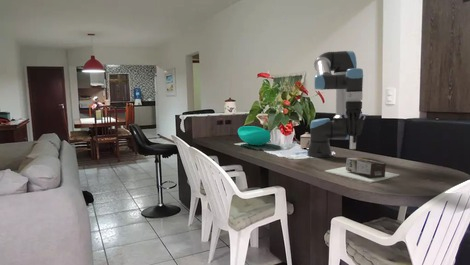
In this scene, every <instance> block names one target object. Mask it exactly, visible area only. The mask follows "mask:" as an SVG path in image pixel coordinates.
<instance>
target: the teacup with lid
mask: <svg viewBox="0 0 470 265" xmlns="http://www.w3.org/2000/svg"><path fill="white" fill-rule="evenodd" d="M310 134H311V133H309V132H308V131H307V132H306V131H305V133H304V134H302V135H300V149H301V148H309V146H310Z"/></svg>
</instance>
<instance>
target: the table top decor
mask: <svg viewBox="0 0 470 265" xmlns="http://www.w3.org/2000/svg"><path fill="white" fill-rule="evenodd" d="M237 134H238V138H240V139H241V140H242V141H243V142H244V143H246V144H248V145H251V146H254V145H258V146H263V145H264V144H267V143H269V142H270V141H271V140H270V132H269V130H267V129H265V128H263V127H259V126H257V125H256V126H254V125H252V126H251V125H250V126H249V125H246V126H245V125H244V126H240V127H239V128H238V129H237ZM262 144H263V145H262Z"/></svg>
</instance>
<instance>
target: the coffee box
mask: <svg viewBox="0 0 470 265" xmlns="http://www.w3.org/2000/svg"><path fill="white" fill-rule="evenodd" d="M386 166H387V164H386V163H384V162H380V161H376V160H371V159H367V158H362V157H346V162H345V167H346V170H347V171H351V172H354V173H357V174H360V175H363V176H367V177H370V178H374V177H385V172H386Z"/></svg>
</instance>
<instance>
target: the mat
mask: <svg viewBox="0 0 470 265" xmlns="http://www.w3.org/2000/svg"><path fill="white" fill-rule="evenodd" d="M323 172H324V173H327V174H332V175H337V176H340V177H343V178H347V179H348V178H349V179H353V180H357V181H361V182H366V183H368V184H372V183H376V182H380V181H383V180H388V179H393V178H396V177H400V174H399V173H393V172H388V171H385V177H374V178H370V177H367V176H363V175H360V174H357V173H354V172H351V171H347V170H346V166H342V167H337V168H331V169H326V170H324V171H323Z"/></svg>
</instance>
